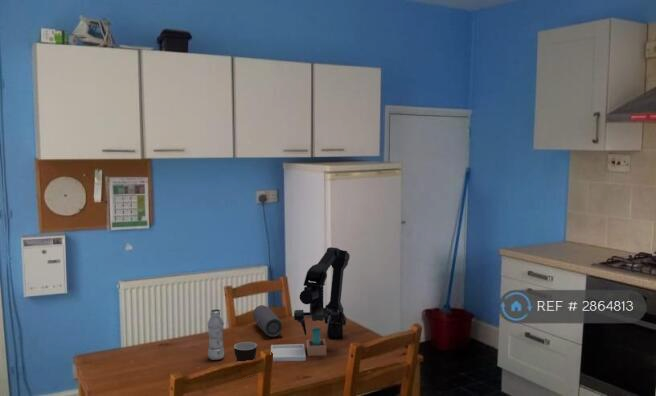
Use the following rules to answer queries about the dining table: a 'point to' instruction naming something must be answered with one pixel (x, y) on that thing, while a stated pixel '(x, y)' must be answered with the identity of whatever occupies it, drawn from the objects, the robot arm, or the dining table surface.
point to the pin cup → (316, 348)
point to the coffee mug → (245, 351)
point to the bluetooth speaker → (267, 320)
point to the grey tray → (288, 352)
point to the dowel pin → (316, 336)
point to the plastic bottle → (215, 336)
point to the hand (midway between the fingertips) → (316, 334)
